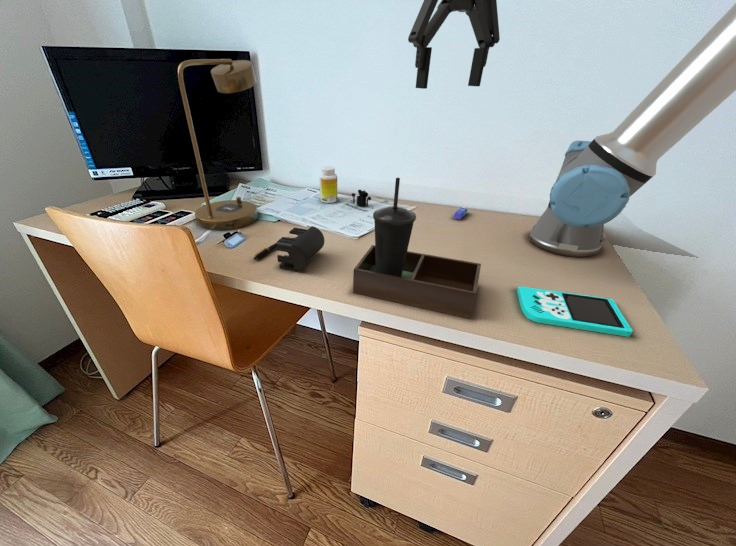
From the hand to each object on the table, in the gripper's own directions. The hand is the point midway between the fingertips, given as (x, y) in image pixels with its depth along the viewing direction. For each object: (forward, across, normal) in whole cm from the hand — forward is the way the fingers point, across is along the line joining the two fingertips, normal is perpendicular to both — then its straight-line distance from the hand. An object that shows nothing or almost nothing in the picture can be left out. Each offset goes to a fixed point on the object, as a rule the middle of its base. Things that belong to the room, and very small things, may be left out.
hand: (448, 87), depth 70 cm
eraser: (+33, -17, -6) cm, 38 cm away
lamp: (+33, +40, -38) cm, 65 cm away
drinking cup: (+32, +22, +16) cm, 42 cm away
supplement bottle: (+33, +11, -36) cm, 50 cm away
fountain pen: (+33, +38, -10) cm, 51 cm away
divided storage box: (+33, +18, +20) cm, 42 cm away
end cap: (+33, +34, -1) cm, 47 cm away
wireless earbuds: (+33, +4, -27) cm, 43 cm away
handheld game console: (+33, -3, +38) cm, 50 cm away
